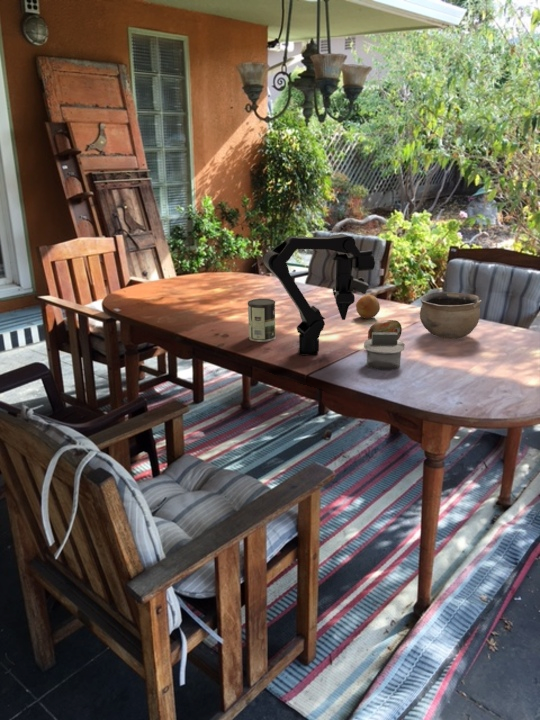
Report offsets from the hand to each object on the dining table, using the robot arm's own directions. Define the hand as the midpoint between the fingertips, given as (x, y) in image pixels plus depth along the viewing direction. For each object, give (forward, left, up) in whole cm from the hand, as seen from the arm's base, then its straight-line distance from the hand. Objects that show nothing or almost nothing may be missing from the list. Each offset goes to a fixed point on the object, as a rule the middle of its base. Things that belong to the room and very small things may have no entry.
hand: (342, 316), depth 211 cm
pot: (+12, -14, -12) cm, 22 cm away
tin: (+16, +6, -12) cm, 21 cm away
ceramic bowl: (+41, +15, -12) cm, 45 cm away
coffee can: (-29, +13, -12) cm, 34 cm away
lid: (+12, -17, -6) cm, 21 cm away
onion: (+14, +41, -12) cm, 45 cm away
